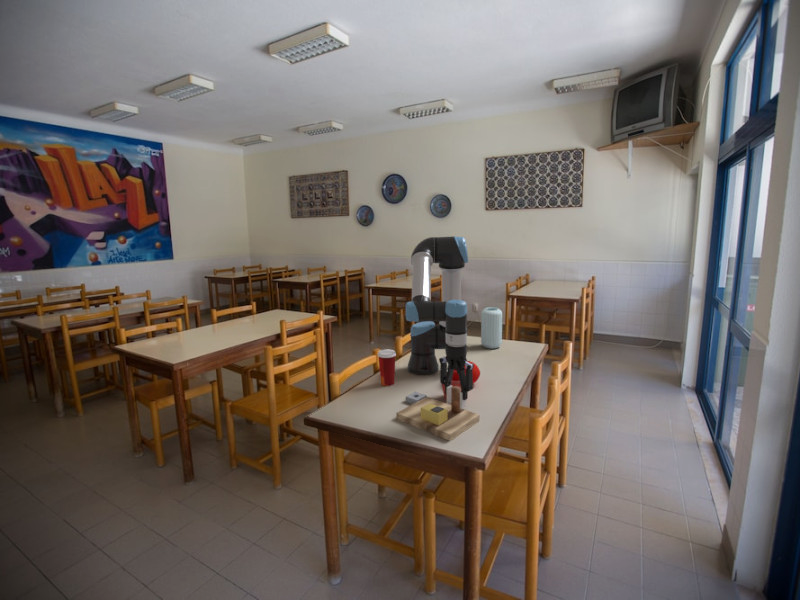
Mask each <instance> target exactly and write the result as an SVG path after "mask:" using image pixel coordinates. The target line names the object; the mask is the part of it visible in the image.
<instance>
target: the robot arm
mask: <svg viewBox="0 0 800 600" xmlns="http://www.w3.org/2000/svg"><path fill="white" fill-rule="evenodd" d="M468 253H469V252H468V246H467V241H466V239H465V237H463V236H436V237H435V236H429V237H427V238H424V239H422V240H421V241H420V242H419V243H418V244H417V245H416V246H415V247H414V248H413V251H412V253H411V256H410V258H411V259H410V264H411V265H412V279H411V281H412V285H411V301H406V303H405V319H406V321H407V322H414V324H412V325H411V327H410V333H409V335H410V356H409V360H408V363H407V371H408V372H409V373H410V374H414V375H422V376H423V375H426V376H427V375H432V374H436V373H437V372H438V371H439V370H440V372H439V373H440V375H439V376H440V379H439V380H440V381H439V382H440V384H441V385H442V384H444V386H445V394H446V395H447V400H446V403H447V404H448V405H451V387H453V386H452V385H451V384H452V383H451V381H452V377H453V373H454V369H455V370H457V373H458V375H459V380H460V385H461V389H462V391H460V409H464V408H466V407H467V406H466V404H467V401H466V400H467V399H468V392H470V391H472V390H473V388H474V385H473V384H474V383H473V367H474V364H473V363H474V362H473V363H472V364H470V363H469V362H467V361H468V359H467V353H468V345H467V343H468V326H467V325H468V323H467V322H468V307H467V305H468V303H467V302H466V301H464V300H462V270H463V269H464V268H465V267H466V264H467V263H469V255H468ZM433 264H438V268H439V269H440V270H441V272H442V273H441V277H442V281H441V282H442V283H441V284H442V285H441V286H442V287H441V290H442V291H441V293H442V295H441V296H442V299H441V301H431V300H432V296H431V295H432V292H431V291H432V282H431V280H432V273H431V272H432V270H431V269H432V268H431V267H432V266H433ZM415 322H416V323H415ZM435 322H438V324H436V323H435ZM436 350H445V356H442V357H439V358H438V359H439V362H438V360H437V357H436V353H435V352H436ZM439 363H440V366H439ZM465 365H466V367H464V366H465ZM439 368H440V369H439ZM465 368H466V375H465Z"/></svg>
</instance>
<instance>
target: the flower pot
mask: <svg viewBox="0 0 800 600" xmlns="http://www.w3.org/2000/svg"><path fill="white" fill-rule="evenodd" d="M465 375H466V374H465ZM451 383H452V384H451V385H452V386H458V387H460V388H461V385H460V380H459V375H458V373H457V371H454V373H453V377H452V381H451ZM441 388H442V392H443V395H444V396H443V397H444V400H446V401H447V395H446V394H445V386H444V384H441ZM461 391H462V389H461Z"/></svg>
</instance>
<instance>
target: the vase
mask: <svg viewBox="0 0 800 600" xmlns="http://www.w3.org/2000/svg"><path fill="white" fill-rule="evenodd" d="M480 319H481V323H480V324H481V325H480V326H481V327H480V328H481V330H480V331H481V332H480V342H481V344H482V346H483V347H484V348H487V349H489V350H490V349H491V350H492V349H498V348H499V347H501V346H502V344H503V341H502V340H503V339H502V338H503V311H502V310H501V309H500V308H499V307H491V306H490V307H485V308H483V309H482V310H481V316H480Z"/></svg>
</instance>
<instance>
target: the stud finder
mask: <svg viewBox="0 0 800 600" xmlns="http://www.w3.org/2000/svg"><path fill="white" fill-rule="evenodd" d="M421 419H424V420H426V421H429V422H431V423H434V424H436V425H440V424H442V423H444V422H445V421H447V420H448V417H447V409H445V408H442V407H439V406H436V405H434V404H431V403H429V404H427V405H425V406H423V407H421Z"/></svg>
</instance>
